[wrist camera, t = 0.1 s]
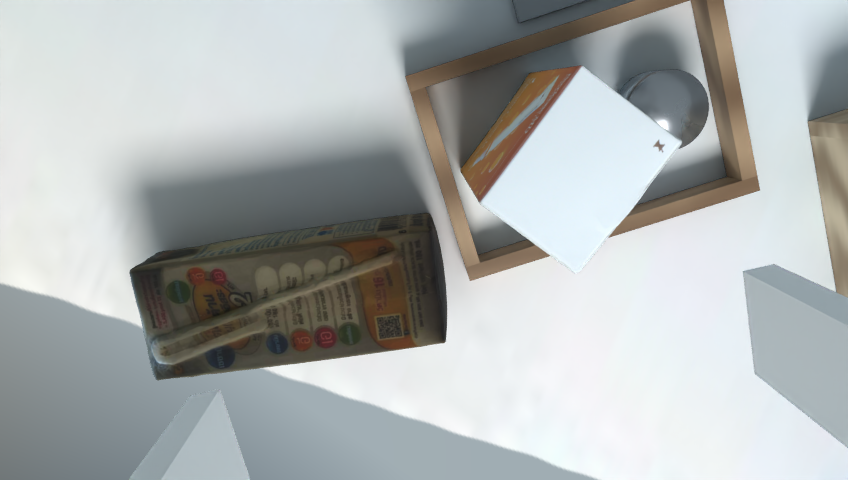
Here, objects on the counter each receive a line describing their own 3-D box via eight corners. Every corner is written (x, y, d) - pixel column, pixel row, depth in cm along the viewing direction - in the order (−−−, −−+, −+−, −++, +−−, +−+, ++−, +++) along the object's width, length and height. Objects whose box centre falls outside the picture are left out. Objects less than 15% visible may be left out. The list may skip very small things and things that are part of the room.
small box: (528, 70, 40) (583, 59, 28) (603, 127, 41) (688, 141, 29) (456, 171, 42) (476, 204, 29) (529, 224, 43) (580, 278, 30)
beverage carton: (160, 243, 43) (116, 269, 36) (434, 205, 43) (439, 224, 36) (185, 349, 45) (148, 391, 38) (448, 313, 44) (455, 349, 38)
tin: (605, 84, 41) (620, 84, 38) (678, 61, 41) (699, 58, 38) (623, 156, 42) (639, 161, 39) (694, 134, 42) (715, 137, 39)
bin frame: (405, 77, 40) (405, 76, 38) (702, -21, 39) (718, -28, 37) (467, 272, 43) (470, 280, 42) (743, 186, 43) (760, 190, 41)
